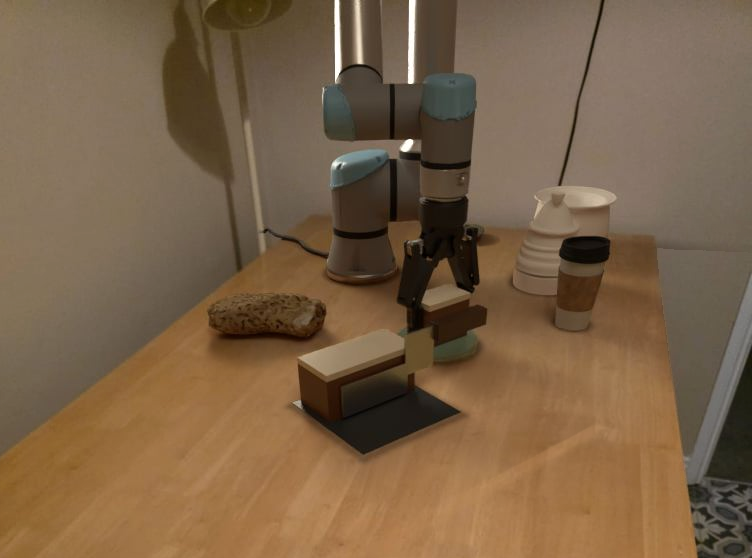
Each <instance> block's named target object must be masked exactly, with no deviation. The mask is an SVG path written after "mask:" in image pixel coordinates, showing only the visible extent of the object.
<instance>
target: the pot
mask: <svg viewBox="0 0 752 558" xmlns="http://www.w3.org/2000/svg"><path fill="white" fill-rule="evenodd" d="M553 191H562V192H565V197H564V199H563V201H564V202H565V203H566V205H567V207H568V209H569V211H570V214H571V217H572V220H573V221H575V222H577V223H578V224H579V226H580V229H579V231H578V232H577V233H575V235H576V236H602V237H605V238H608V235H609V230H610V220H611V219H610V218H611V216H610V215H611V213H610V212H611V211H610V210H611V205H614V204H615V203H616V202H617V199H618V198H617V196H616V194H615V193H613V192H611V191H609V190H606V189H602V188H600V187H599V188H598V187H593V186H582V185H558V186H550V187H545V188H542V189H539V190H537V191H536V192H535V193H534V199H535V200H536V201H538V203H537V206H536V209H535V212H534V217H533V220H534V219H535V217H536V216H537V214H538V213H539V211H540V210H541V208H542V207H543V206H544V205H545V203H546V202H548V201H549V200H550V199H552V198H551V192H553Z"/></svg>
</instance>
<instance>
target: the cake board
mask: <svg viewBox="0 0 752 558" xmlns="http://www.w3.org/2000/svg"><path fill="white" fill-rule="evenodd" d="M292 404H293V405H294V406H295V407H297V408H298V409H300V410H301V411H302V412H303V413H305V414H306V415H308V416H309V417H310V418H312V419H313V420H315V421H316V422H318V423H319V424H320V425H322V426H323V427H324V428H325V429H327V430H328V431H329V432H331V433H332V434H333V435H335V436H336V437H337V438H339V439H340V440H342V441H343V442H345V443H346V444H348V445H349V446H351V447H352V449H354V450H356V451H357V452H359V454H361V455H363V456H365V455H367V454H369V453H372V452H374V451H376V450H379V449H380V448H384V447H386V446H387V445H390V444H392V443H394V442H396V441H399V440H401V439H403V438H405V437H408V436H411V435H413V434H416V433H417V432H419V431H421V430H424V429H426V428H428V427H431V426H433V425H436V424H438V423H440V422H442V421H444V420H446V419H449V418H451V417H453V416H456V415H458V414H461V413H462V411H461V410H460V409H457V408H456V407H454V406H452V405H451V404H449V403H447V402H445V401H443V400H442V399H440V398H438V397H436V396H435V395H433V394H431V393H430V392H428V391H426V390H424V389H422V388H421V387H419V386H417V385H415V384H414V390H411V391H409V392H407V393H405V394H403V395H400V396H398V397H395V398H393V399H390V400H388V401H385V402H383V403H380V404H378V405H375V406H373V407H370V408H368V409H365V410H363V411H360V412H358V413H355V414H353V415H350V416H348V417H345V418H341V419H339V420H336V421H334V422H331V423H328V422H327V421H325V420H324V419H323V418H321V417H320V416H319V415H317V414H316V413H314V412H313V411H312V410H310V409H309V408H307V407H306V406H305V405H303V404H302V403H301V399H298V400H296V401H293V402H292Z"/></svg>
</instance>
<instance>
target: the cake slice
mask: <svg viewBox="0 0 752 558" xmlns="http://www.w3.org/2000/svg"><path fill="white" fill-rule="evenodd" d="M413 300H415V298H414V299H413ZM470 301H471V293H470V292H467V291H465V290H462V289H460V288H458V287H457V286H455V285H453V284H450V283H446V284H442V285H439V286H436V287H433V288H429V289H426V291H425V294H424V297H423V299H422V302H421V305H420V306H421V307H423V308H424V316H423V328H425V327H428V326H429V321H430V320H433V319H436V318H439V317H442V316H445V315H448V314H451V313H454V312H457V311H460V310H462V309H465V308H468V307H470ZM406 325H407V324H406ZM406 327H407V333H409V326H408V325H407V326H406ZM465 335H467V332H464V333H461V334H458V335H456V336H453V337H450V338H447V339H445V340H442V341H439V342H437V341H435V340H434V347H436V346H438V345H441V344H444V343H446V342H449V341H452V340H455V339H457V338H460V337H463V336H465Z"/></svg>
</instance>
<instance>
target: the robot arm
mask: <svg viewBox="0 0 752 558" xmlns="http://www.w3.org/2000/svg"><path fill="white" fill-rule="evenodd" d="M382 3H383V0H334V25H335V26H334V54H335V55H334V56H335V57H334V58H335V59H334V62H335V63H334V64H335V67H334V68H335V70H334V72H335V74H334V75H335V78H334V79H335V80H334V81H335V82H334V83H332V84H328V85H327V84H326V85H325V86H324V87H322V92H321V93H322V95H321V106H322V107H321V108H322V111H321V112H322V123H323V124H322V125H323V126H322V127H323V132H324V135H325V137H326V138H327V139H328V140H330V141H337V142H351V143H354V142H363V141H365V142H366V141H404V142H403V143H402V144H401V145H400V146H399V148H398V157H397V158H390V155H389V152H388V151H387V150H386V149H382V148H379V149H376V148H375V149H374V148H371V149H364V150H357V151H354V152H349V153H346V154H343V155H341V156H339V157H337V158H336V159H334V161H333V162H332V163H331V166H330V183H329V189H330V190H331V213H332V214H331V215H332V216H331V217H332V239H331V244H330V247H329V252H326V251H321V250H317V249H314V248H313V247H310V246H308V245H306V244H305V242H304V241H303V240H302V239H300V238H298V237H295V236H292V235H285V234H280V233H277V232H275V231H274V230H273V229H272V228H270V227H265V228H264V229H263V230H262V234H266V233H267V232H269V234H271V236H273V237H276V238H279V239H283V240H289V241H294V242H297V243H299V244H300V246H301V247H302V248H303V249H305V250H307V251H309V252H311V253H313V254H316V255H319V256H323V257H327V260H326V263H325V266H326V267H325V269H326V275H327V276H328V277H329V278H330V279H332V280H334V281H336V282H339V283H344V284H352V285H367V284H375V283H380V282H384V281H387V280H390V279H391V278H393V277H394V276H395V275H396V273H397V259H396V257H395V253H394V251H393V247H392V243H391V241H390V240H391V239H390V237H389V223H399V222H400V223H404V222H406V223H407V222H419V224H420V227H421V228H420V233H419V235H418V238H416V239H414V240H409V239H406V240H404V242H403V251H404V257H403V262H402V268H401V273H400V280H399V286H398V290H397V295H396V303H397V304H398V305H400V306H402V307H404V308H406V325H408V326H409V333H410V332H413V331H416V330H419V329H422V328H423V316H424V308H423V307H421V306H420V305H421V302H422V299H423V297H424V294H425V291H426V290H428V286H429V283H430V280H431V278H432V275H433V272H434V271H435V269H436V268H438V266H439V264H440V262H442V261H443V260H444V259H447V262H448V265H449V269H450V271H451V274H452V276H453V280H454V283H455V285H456V287H458V288H460V289H462V290H465V291H467V292H470V294H473V293H475V290H476V287H478V286H479V284H480V282H481V279H480V268H479V255H478V244H477V243H478V237H477V236H478V228H476V227H473V226H470V225H467V224H468V223H467V222H468V216H469V215H468V214H469V198H468V196H466V195H469V192H470V186H471V185H470V184H471V171H472V170H471V169H472V152H473V151H472V150H473V141H474V130H475V118H476V109H477V105H478V101H477V81H476V78H475V77H474V76H473V75H472V74H467V73H464V72H463V73H462V72H455V63H456V61H455V59H456V43H457V42H456V40H457V22H458V21H457V19H458V0H408V43H407V44H408V49H407V50H408V52H407V54H408V55H407V56H408V57H407V58H408V59H407V62H408V63H407V83H405V82H404V83H395V82H394V83H384V58H383V57H384V55H383V54H384V52H383V51H384V50H383V6H382V5H383V4H382ZM464 224H465V225H464ZM414 298H415V300H413V299H414Z"/></svg>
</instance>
